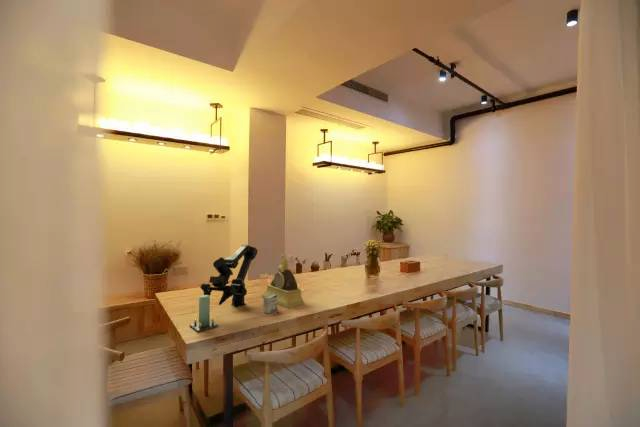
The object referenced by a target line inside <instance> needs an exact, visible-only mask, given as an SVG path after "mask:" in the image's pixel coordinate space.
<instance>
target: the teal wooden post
mask: <svg viewBox="0 0 640 427" xmlns="http://www.w3.org/2000/svg"><path fill="white" fill-rule="evenodd" d="M210 307H211V295H204V294H203V295H199V297H198V322H199V323H202V327H203V326H208V325H209V324H210V320H211V319H210V312H211V310H210V309H211V308H210Z"/></svg>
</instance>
